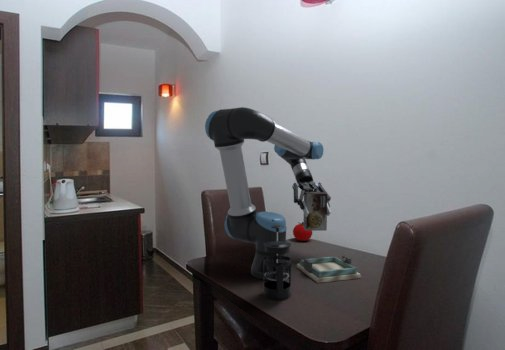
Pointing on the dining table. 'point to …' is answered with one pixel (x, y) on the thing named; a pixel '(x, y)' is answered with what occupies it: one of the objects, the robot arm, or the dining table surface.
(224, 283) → the dining table surface
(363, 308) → the dining table surface
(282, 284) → the french press
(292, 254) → the dining table surface
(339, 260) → the tray
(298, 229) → the tomato
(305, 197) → the coffee box
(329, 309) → the dining table surface
